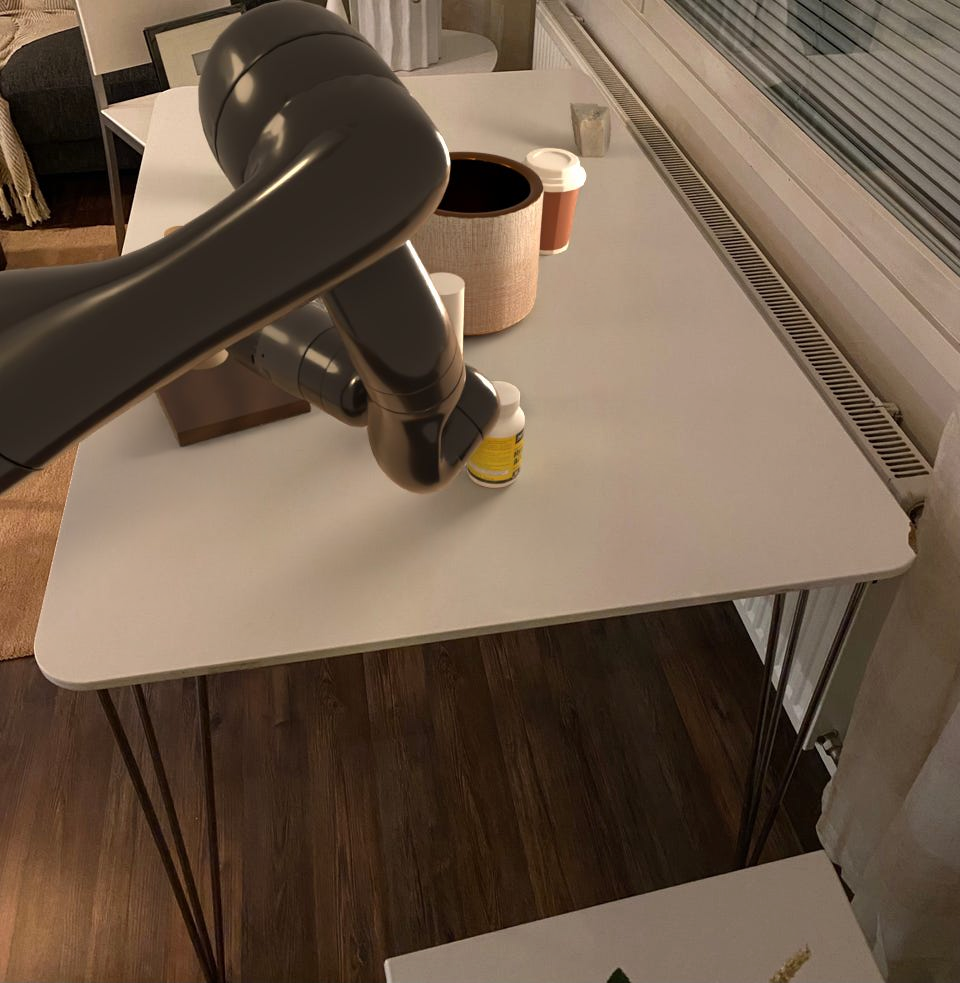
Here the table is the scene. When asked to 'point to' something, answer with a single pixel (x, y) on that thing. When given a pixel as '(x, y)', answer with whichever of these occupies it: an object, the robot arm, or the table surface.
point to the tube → (452, 300)
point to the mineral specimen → (591, 128)
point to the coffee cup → (556, 195)
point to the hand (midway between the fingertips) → (169, 273)
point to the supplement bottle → (501, 443)
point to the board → (224, 402)
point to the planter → (487, 238)
